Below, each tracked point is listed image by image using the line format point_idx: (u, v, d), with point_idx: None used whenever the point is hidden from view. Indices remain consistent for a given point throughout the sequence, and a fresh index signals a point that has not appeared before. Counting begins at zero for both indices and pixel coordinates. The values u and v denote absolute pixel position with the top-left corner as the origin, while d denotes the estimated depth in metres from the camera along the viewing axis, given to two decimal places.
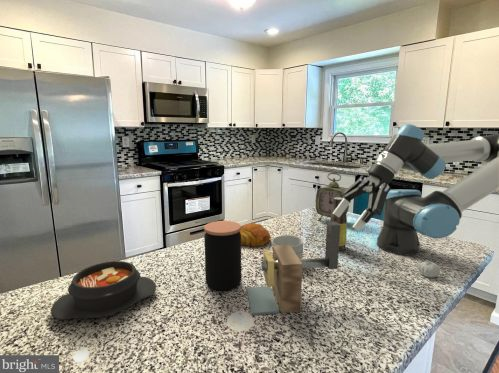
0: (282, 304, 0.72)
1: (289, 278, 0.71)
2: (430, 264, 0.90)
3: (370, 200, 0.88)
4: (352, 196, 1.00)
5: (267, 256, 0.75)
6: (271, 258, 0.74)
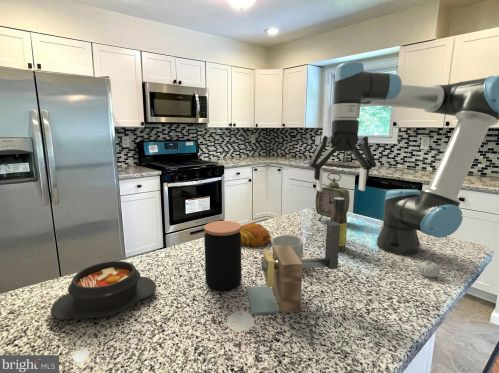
0: (282, 304, 0.72)
1: (289, 278, 0.71)
2: (430, 264, 0.90)
3: (362, 158, 0.86)
4: None
5: (267, 256, 0.75)
6: (271, 258, 0.74)
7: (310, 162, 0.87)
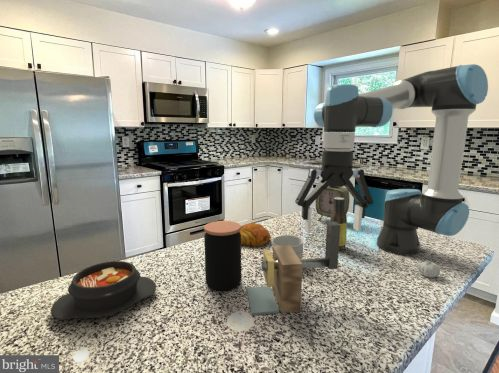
0: (282, 304, 0.72)
1: (289, 278, 0.71)
2: (430, 264, 0.90)
3: (357, 195, 0.74)
4: None
5: (267, 256, 0.75)
6: (271, 258, 0.74)
7: (297, 199, 0.74)
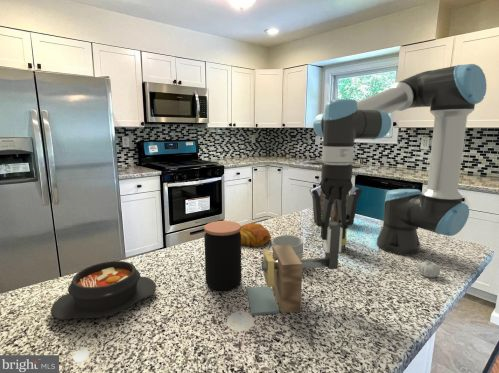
0: (282, 304, 0.72)
1: (289, 278, 0.71)
2: (430, 264, 0.90)
3: (344, 213, 0.75)
4: None
5: (267, 256, 0.75)
6: (271, 258, 0.74)
7: None
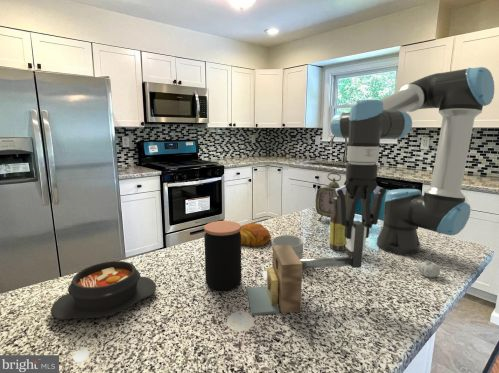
0: (282, 304, 0.72)
1: (289, 278, 0.71)
2: (430, 264, 0.90)
3: (368, 213, 0.76)
4: None
5: (271, 275, 0.76)
6: (275, 277, 0.75)
7: None
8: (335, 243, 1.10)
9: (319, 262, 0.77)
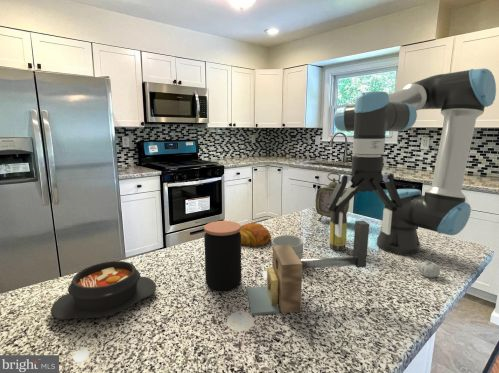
0: (282, 304, 0.72)
1: (289, 278, 0.71)
2: (430, 264, 0.90)
3: (387, 199, 0.76)
4: None
5: (271, 275, 0.76)
6: (275, 277, 0.75)
7: (327, 204, 0.76)
8: (335, 243, 1.10)
9: (324, 261, 0.77)
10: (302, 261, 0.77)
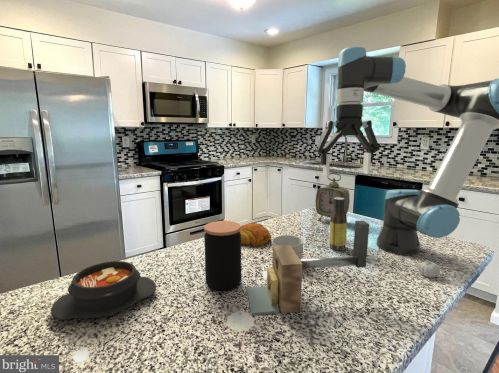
0: (282, 304, 0.72)
1: (289, 278, 0.71)
2: (430, 264, 0.90)
3: (366, 142, 0.89)
4: None
5: (271, 275, 0.76)
6: (275, 277, 0.75)
7: (316, 147, 0.88)
8: (335, 243, 1.10)
9: (324, 261, 0.77)
10: (302, 261, 0.77)
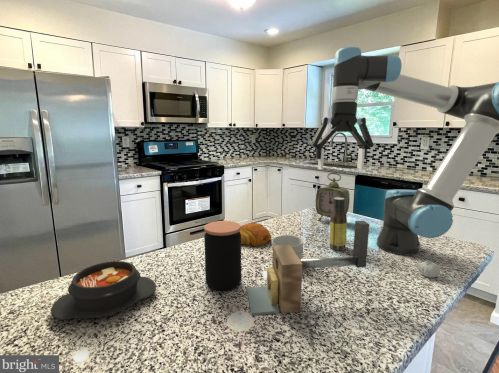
0: (282, 304, 0.72)
1: (289, 278, 0.71)
2: (430, 264, 0.90)
3: (360, 138, 0.92)
4: None
5: (271, 275, 0.76)
6: (275, 277, 0.75)
7: (312, 142, 0.93)
8: (335, 243, 1.10)
9: (324, 261, 0.77)
10: (302, 261, 0.77)
